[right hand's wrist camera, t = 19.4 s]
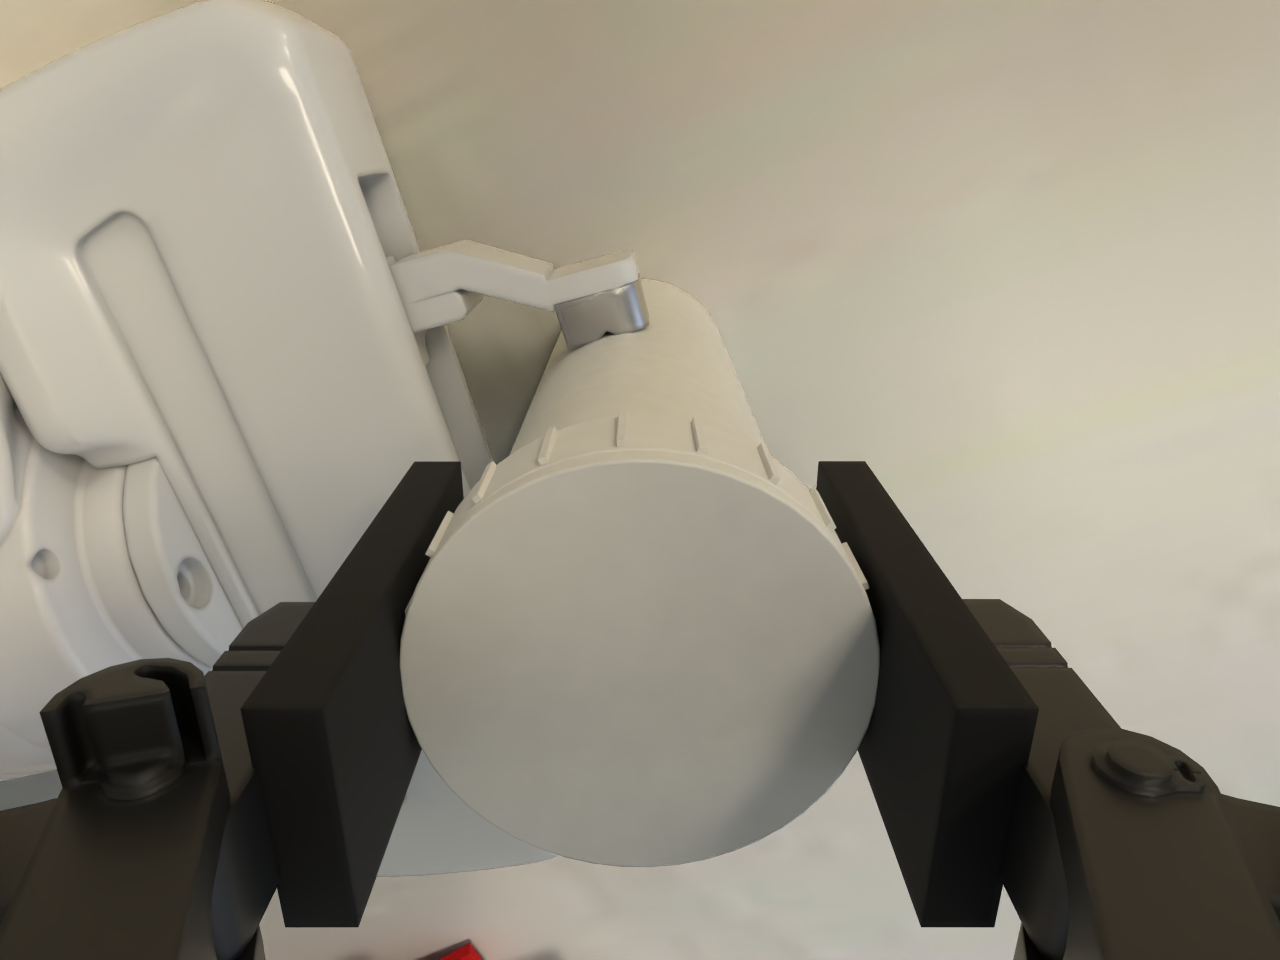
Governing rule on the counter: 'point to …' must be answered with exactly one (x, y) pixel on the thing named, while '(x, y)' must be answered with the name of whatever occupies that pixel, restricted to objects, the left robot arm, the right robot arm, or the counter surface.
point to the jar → (645, 374)
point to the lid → (639, 644)
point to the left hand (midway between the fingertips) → (677, 423)
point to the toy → (463, 954)
